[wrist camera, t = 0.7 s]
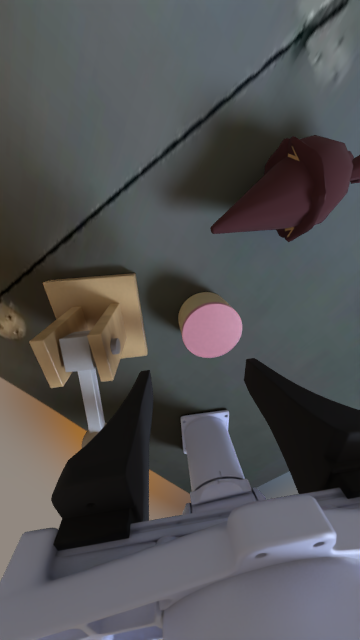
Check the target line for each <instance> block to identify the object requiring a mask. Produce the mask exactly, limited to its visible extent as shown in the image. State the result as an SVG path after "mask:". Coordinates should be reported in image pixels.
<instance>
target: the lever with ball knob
mask: <svg viewBox="0 0 360 640" xmlns="http://www.w3.org/2000/svg"><path fill="white" fill-rule="evenodd" d="M90 331H91V330H90ZM90 331H80V332H73V333H71V334H69V335H67V336H65V337H62V338H60V339H59V342H60V347H61V352H62V357H63V361H64V366H65V371H66V372H74V371H78V376H79V381H80V386H81V391H82V396H83V402H84V407H85V412H86V417H87V422H88V428H89V430H88V431H87V432H86V434H85V436H84V438H83V441H82V448H83V447H84V446H85V445H87V444H88V443H89V442H90V441H91V440H92V439H93V438H94V437H95V436H96V435H97V434H98V433H99V432H100V431H101V429H102V428H103V427H104V426H105V425H106V424H107V423H105V421H104V415H103V410H102V404H101V398H100V392H99V387H98V381H97V375H96V370H95V367H96V363H95V360H94V357H93V354H92V350H91V347H90V344H89V341H88V338H87V335H88V334H89V332H90Z"/></svg>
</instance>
